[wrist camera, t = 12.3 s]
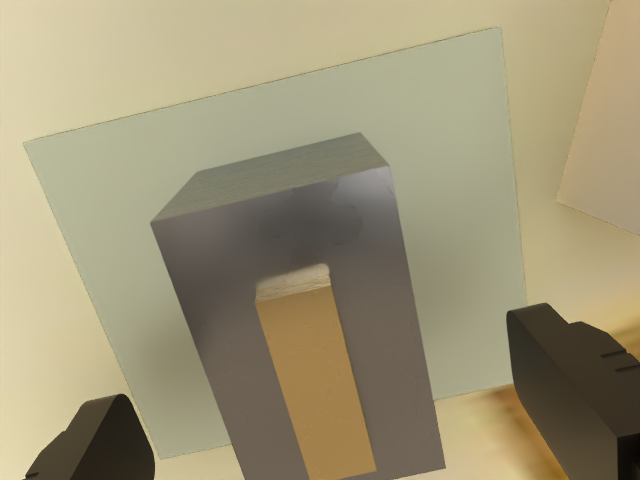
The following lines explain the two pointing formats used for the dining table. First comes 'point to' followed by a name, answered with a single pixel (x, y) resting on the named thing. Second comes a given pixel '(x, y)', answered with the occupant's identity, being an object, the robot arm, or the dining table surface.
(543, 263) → the dining table surface
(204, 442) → the mat
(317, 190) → the lever cap
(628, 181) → the milk
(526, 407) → the robot arm
